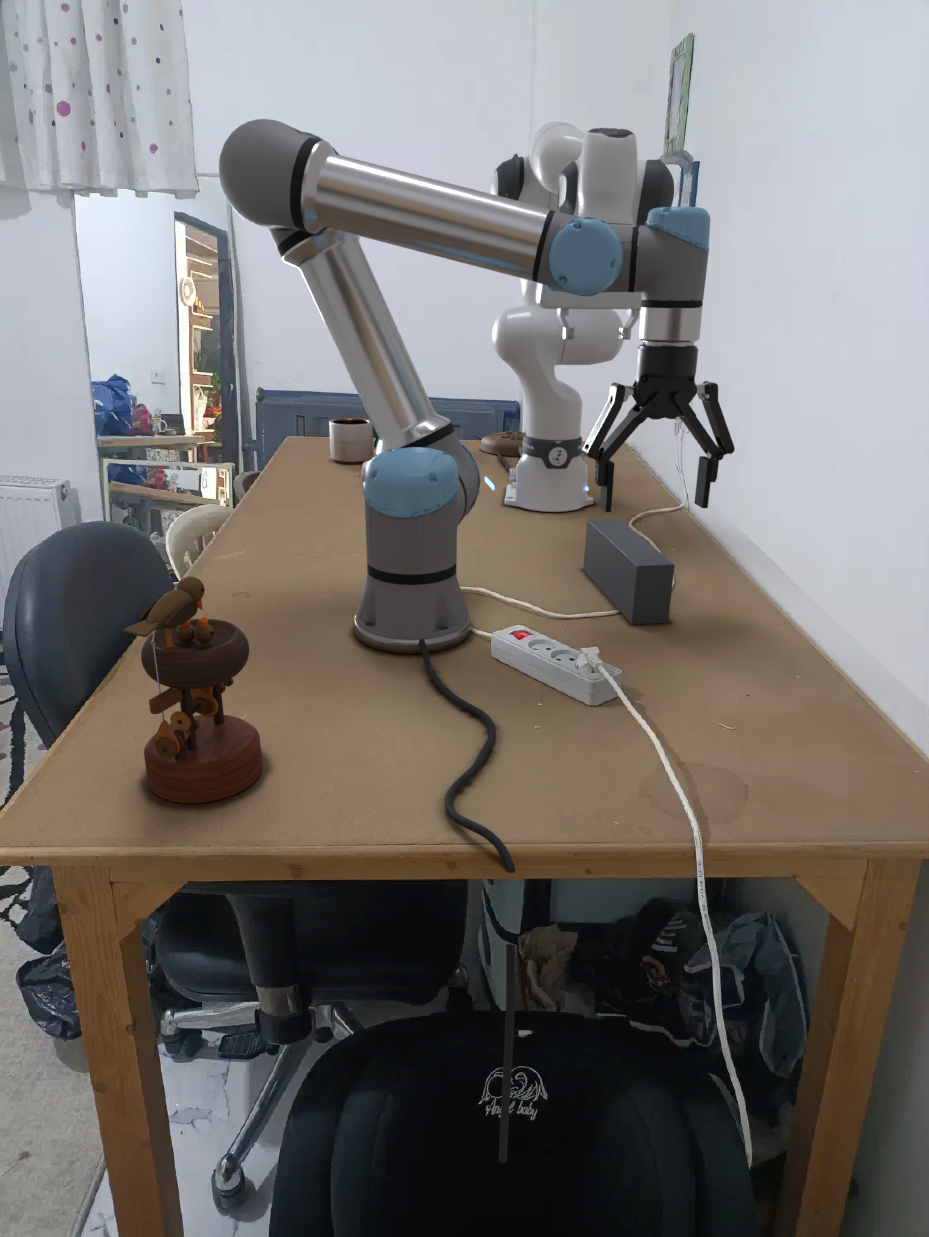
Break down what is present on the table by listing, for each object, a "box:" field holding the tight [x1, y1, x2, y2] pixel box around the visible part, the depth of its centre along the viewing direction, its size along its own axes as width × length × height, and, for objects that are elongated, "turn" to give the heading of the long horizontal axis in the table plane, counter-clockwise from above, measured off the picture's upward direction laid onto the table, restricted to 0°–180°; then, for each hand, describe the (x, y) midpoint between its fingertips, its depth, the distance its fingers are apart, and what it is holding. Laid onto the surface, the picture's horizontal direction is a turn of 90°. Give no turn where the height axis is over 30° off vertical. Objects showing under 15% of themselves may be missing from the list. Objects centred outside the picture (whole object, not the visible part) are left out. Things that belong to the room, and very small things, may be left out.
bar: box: [582, 517, 676, 625], centre depth 126 cm, size 23×5×8 cm, turn 9°
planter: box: [328, 417, 375, 464], centre depth 212 cm, size 11×11×10 cm
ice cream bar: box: [480, 430, 526, 458], centre depth 223 cm, size 21×28×4 cm
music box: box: [122, 575, 263, 804], centre depth 78 cm, size 15×11×20 cm
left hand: (653, 508), depth 114 cm, fingers open, 13 cm apart
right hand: (596, 339), depth 137 cm, fingers open, 8 cm apart
